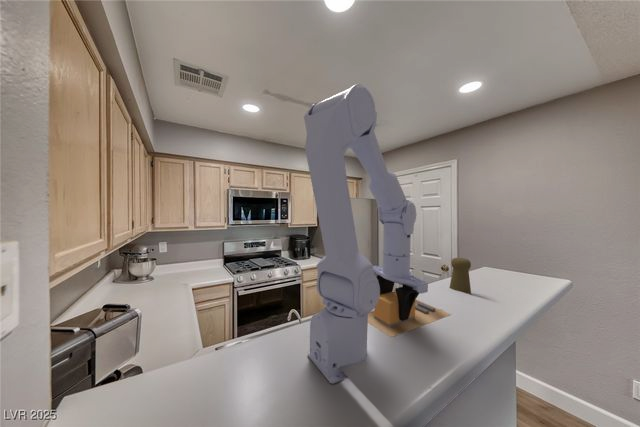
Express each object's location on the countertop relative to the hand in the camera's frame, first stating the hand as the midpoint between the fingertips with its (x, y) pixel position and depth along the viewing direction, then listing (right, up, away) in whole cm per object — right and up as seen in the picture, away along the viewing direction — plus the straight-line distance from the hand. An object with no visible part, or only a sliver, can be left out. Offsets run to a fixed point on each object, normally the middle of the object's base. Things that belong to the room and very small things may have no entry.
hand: (394, 314), depth 52 cm
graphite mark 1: (+8, -1, +4) cm, 9 cm away
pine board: (+3, -2, +2) cm, 4 cm away
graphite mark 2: (+10, -1, +6) cm, 11 cm away
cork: (+27, -3, +20) cm, 34 cm away
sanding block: (0, -1, 0) cm, 1 cm away
